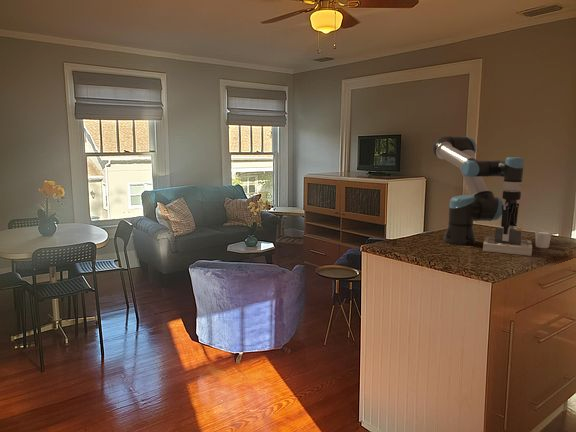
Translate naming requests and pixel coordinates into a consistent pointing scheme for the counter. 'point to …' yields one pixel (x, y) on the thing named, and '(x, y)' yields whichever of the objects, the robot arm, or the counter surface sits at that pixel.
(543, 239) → the shot glass
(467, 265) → the counter surface
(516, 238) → the dial
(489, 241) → the housing
